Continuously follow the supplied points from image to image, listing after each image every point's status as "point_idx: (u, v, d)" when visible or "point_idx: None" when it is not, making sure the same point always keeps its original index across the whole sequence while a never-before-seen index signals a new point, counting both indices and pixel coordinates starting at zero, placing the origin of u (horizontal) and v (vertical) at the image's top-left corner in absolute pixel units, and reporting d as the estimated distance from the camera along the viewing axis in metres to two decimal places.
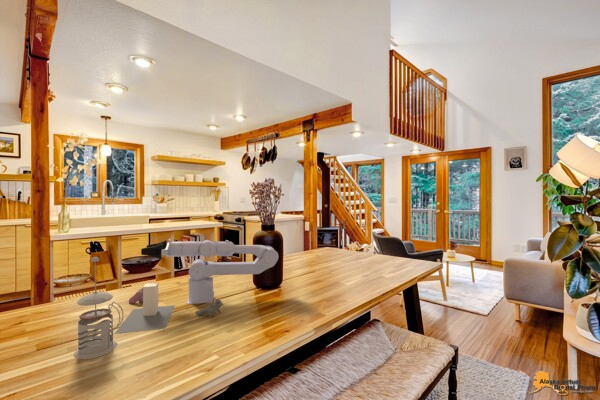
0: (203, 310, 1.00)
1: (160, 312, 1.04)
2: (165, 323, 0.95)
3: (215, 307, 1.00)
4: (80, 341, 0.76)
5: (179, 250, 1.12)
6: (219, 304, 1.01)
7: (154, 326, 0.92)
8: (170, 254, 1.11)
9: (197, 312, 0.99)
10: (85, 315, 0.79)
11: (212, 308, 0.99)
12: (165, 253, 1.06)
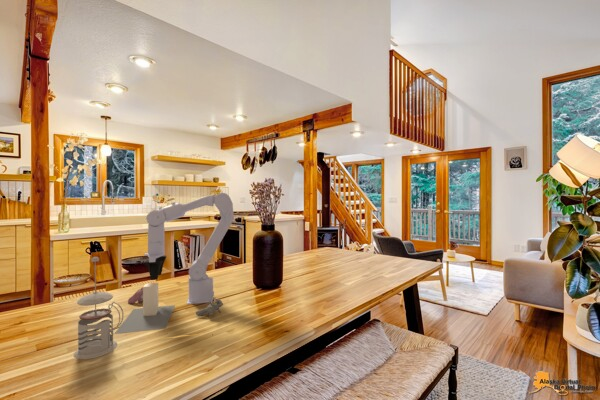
0: (203, 310, 1.00)
1: (160, 312, 1.04)
2: (165, 323, 0.95)
3: (215, 307, 1.00)
4: (80, 341, 0.76)
5: (154, 244, 1.09)
6: (219, 304, 1.01)
7: (154, 326, 0.92)
8: (159, 253, 1.10)
9: (197, 312, 1.00)
10: (85, 315, 0.79)
11: (212, 308, 1.00)
12: (152, 258, 1.05)
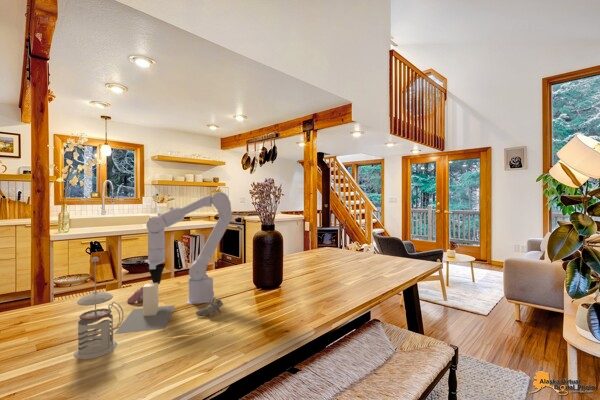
0: (203, 310, 1.00)
1: (160, 312, 1.04)
2: (165, 323, 0.95)
3: (215, 307, 1.00)
4: (80, 341, 0.76)
5: (155, 251, 1.09)
6: (219, 304, 1.01)
7: (154, 326, 0.92)
8: (160, 259, 1.10)
9: (197, 312, 1.00)
10: (85, 315, 0.79)
11: (212, 308, 1.00)
12: (153, 265, 1.05)
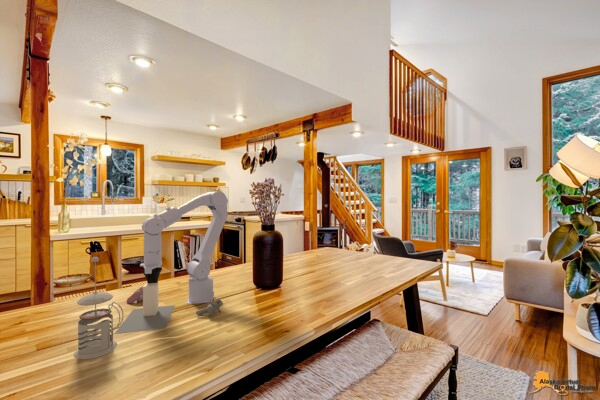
0: (203, 310, 1.00)
1: (160, 312, 1.04)
2: (165, 323, 0.95)
3: (215, 306, 1.00)
4: (80, 341, 0.76)
5: (151, 254, 1.03)
6: (219, 303, 1.01)
7: (154, 326, 0.92)
8: (156, 263, 1.04)
9: (197, 312, 1.00)
10: (85, 315, 0.79)
11: (212, 307, 1.00)
12: (148, 269, 0.99)
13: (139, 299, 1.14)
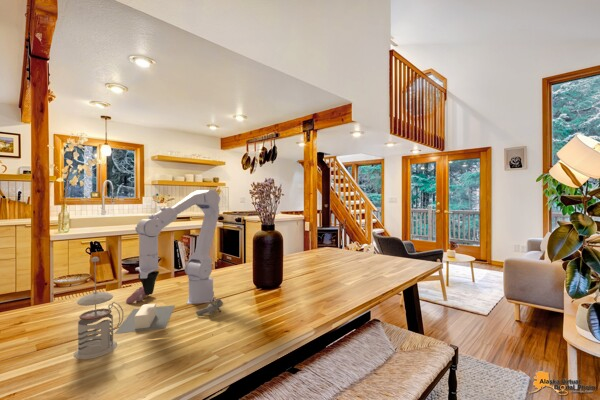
0: (204, 309, 1.00)
1: (160, 312, 1.04)
2: (165, 323, 0.95)
3: (216, 306, 1.00)
4: (80, 341, 0.76)
5: (146, 257, 0.97)
6: (220, 303, 1.01)
7: (154, 326, 0.92)
8: (152, 267, 0.98)
9: (198, 311, 1.00)
10: (85, 315, 0.79)
11: (213, 307, 1.00)
12: (144, 274, 0.93)
13: (139, 299, 1.14)
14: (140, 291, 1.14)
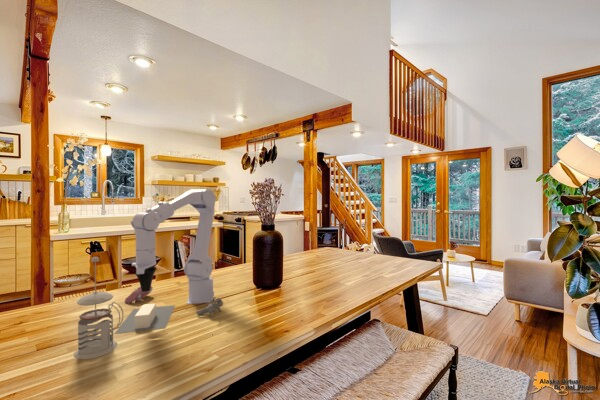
0: (204, 309, 1.00)
1: (160, 312, 1.04)
2: (165, 323, 0.95)
3: (216, 306, 1.01)
4: (80, 341, 0.76)
5: (143, 252, 0.93)
6: (220, 303, 1.02)
7: (154, 326, 0.92)
8: (149, 262, 0.94)
9: (198, 311, 1.00)
10: (85, 315, 0.79)
11: (213, 307, 1.00)
12: (141, 269, 0.89)
13: (137, 299, 1.14)
14: (139, 291, 1.14)
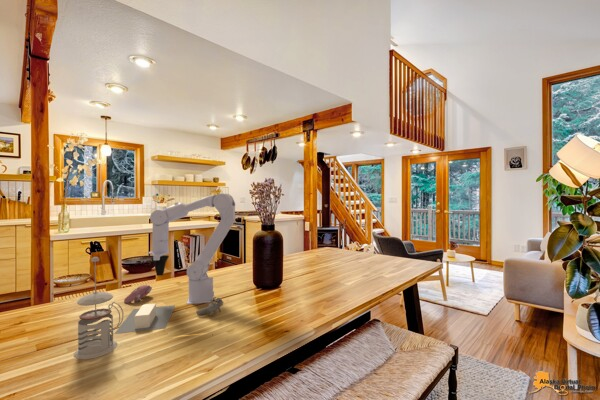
0: (204, 309, 1.01)
1: (160, 312, 1.04)
2: (165, 323, 0.95)
3: (216, 306, 1.01)
4: (80, 341, 0.76)
5: (159, 243, 1.13)
6: (220, 303, 1.02)
7: (154, 326, 0.92)
8: (163, 251, 1.14)
9: (198, 311, 1.00)
10: (85, 315, 0.79)
11: (213, 307, 1.01)
12: (157, 256, 1.08)
13: (137, 299, 1.15)
14: (138, 291, 1.14)
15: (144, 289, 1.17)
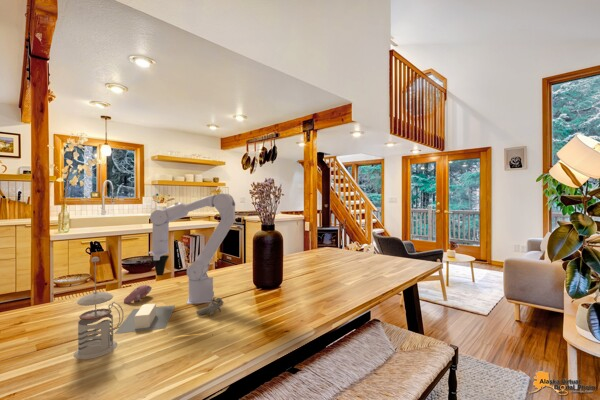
0: (204, 309, 1.01)
1: (160, 312, 1.04)
2: (165, 323, 0.95)
3: (216, 306, 1.01)
4: (80, 341, 0.76)
5: (159, 243, 1.13)
6: (220, 303, 1.02)
7: (154, 326, 0.92)
8: (163, 251, 1.14)
9: (198, 311, 1.00)
10: (85, 315, 0.79)
11: (213, 307, 1.01)
12: (157, 256, 1.08)
13: (136, 299, 1.15)
14: (138, 291, 1.14)
15: (144, 289, 1.17)
